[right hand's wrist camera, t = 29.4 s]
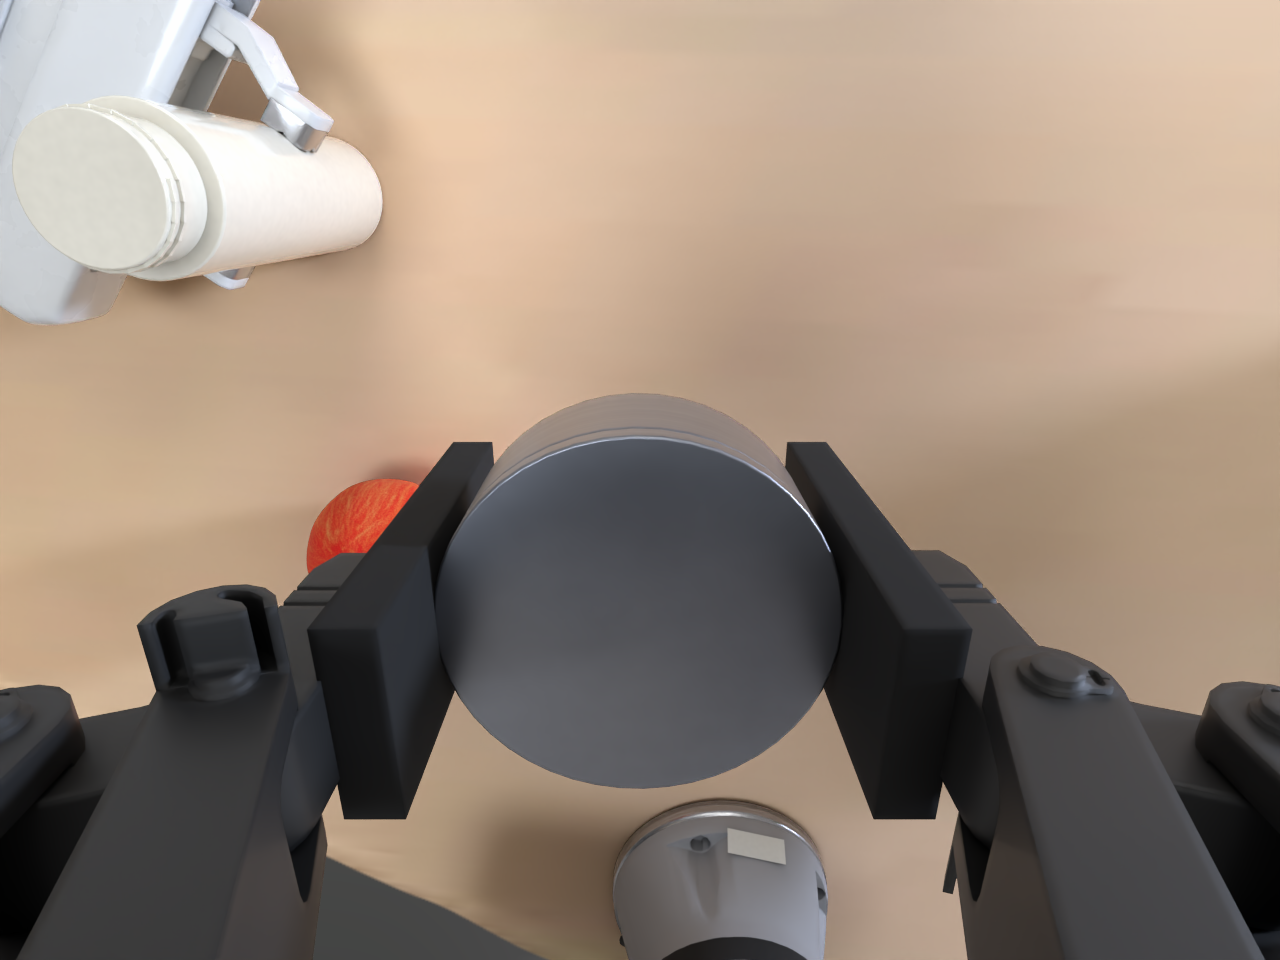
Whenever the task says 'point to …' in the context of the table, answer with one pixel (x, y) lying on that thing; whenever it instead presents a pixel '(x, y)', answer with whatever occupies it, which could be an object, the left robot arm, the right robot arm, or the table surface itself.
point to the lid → (638, 595)
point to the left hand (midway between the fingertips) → (282, 207)
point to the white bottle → (186, 189)
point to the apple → (356, 518)
